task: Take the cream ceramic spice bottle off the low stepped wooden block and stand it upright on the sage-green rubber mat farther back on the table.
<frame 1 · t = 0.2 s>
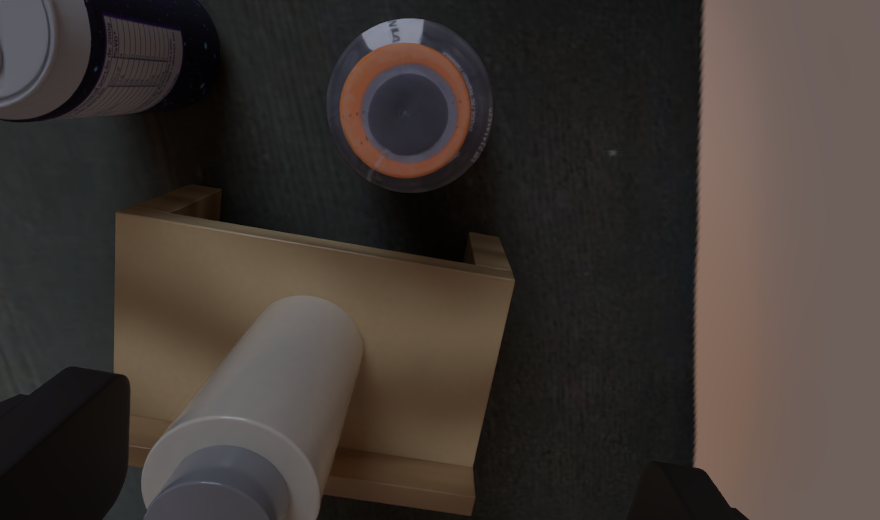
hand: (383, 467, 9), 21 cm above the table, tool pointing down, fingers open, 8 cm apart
stepped wooden block: (335, 299, 31), on the table
spice bottle: (306, 348, 24), point 7 cm above the table, touching stepped wooden block
beverage can: (169, 48, 27), on the table
pill bottle: (419, 102, 28), on the table
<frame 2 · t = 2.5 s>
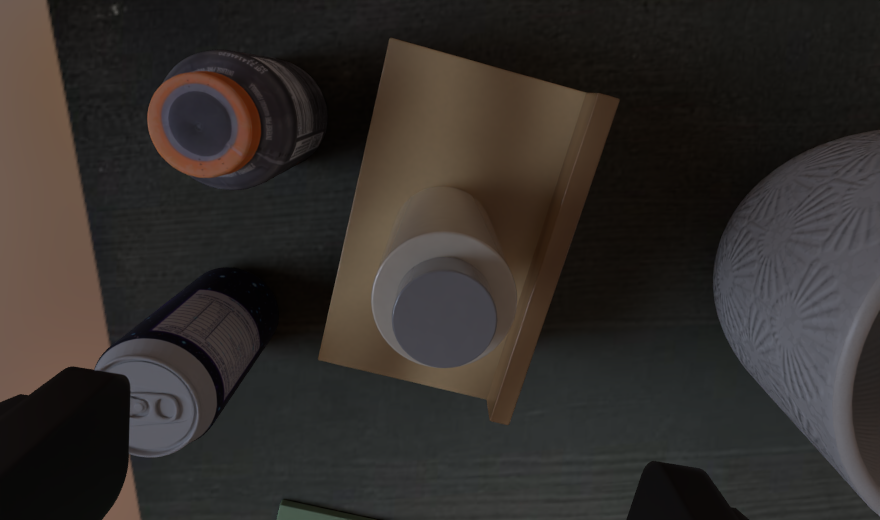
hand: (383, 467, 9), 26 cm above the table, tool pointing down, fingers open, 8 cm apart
stepped wooden block: (449, 209, 34), on the table
spice bottle: (442, 235, 27), point 7 cm above the table, touching stepped wooden block
beverage can: (238, 304, 36), on the table
pill bottle: (278, 114, 32), on the table
planter: (807, 251, 35), on the table
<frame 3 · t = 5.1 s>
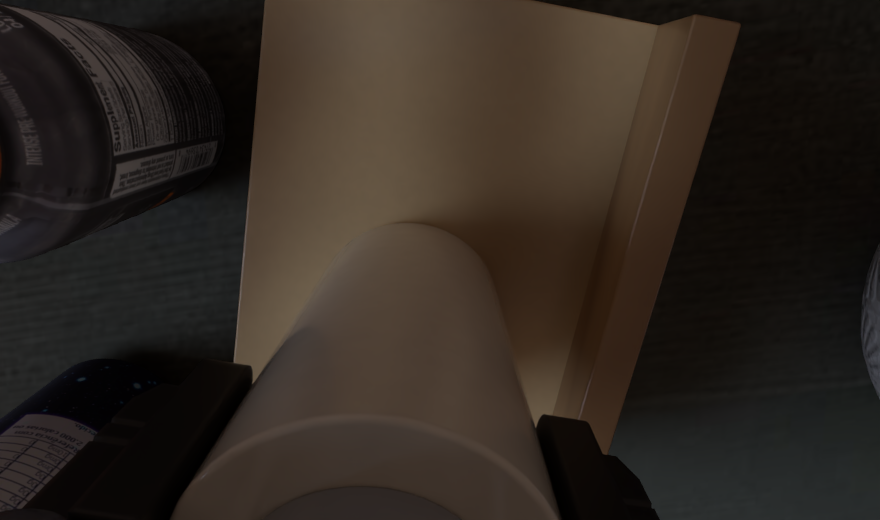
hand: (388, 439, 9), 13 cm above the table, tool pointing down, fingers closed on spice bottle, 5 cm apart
stepped wooden block: (431, 244, 22), on the table
spice bottle: (408, 309, 15), point 7 cm above the table, touching gripper, stepped wooden block
beverage can: (131, 407, 24), on the table
pill bottle: (150, 118, 21), on the table
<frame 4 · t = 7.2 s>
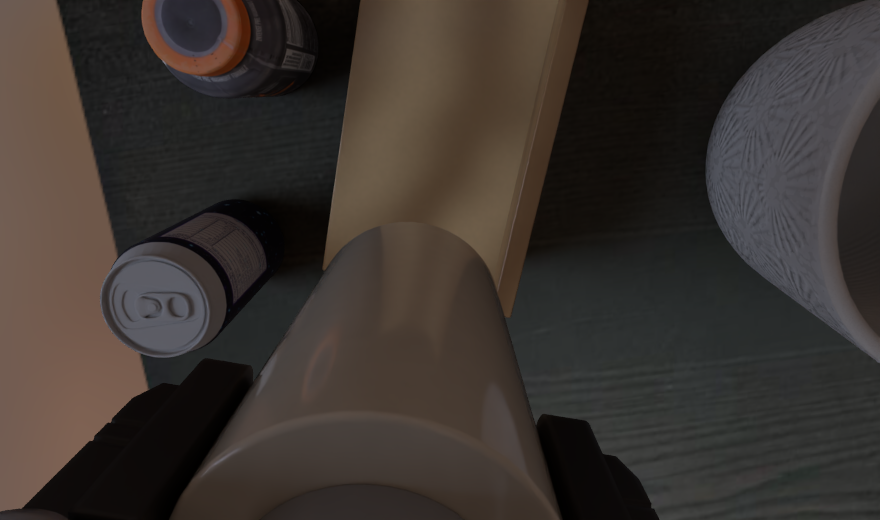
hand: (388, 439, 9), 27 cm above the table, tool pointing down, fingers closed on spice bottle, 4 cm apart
stepped wooden block: (443, 128, 35), on the table
spice bottle: (408, 308, 15), point 21 cm above the table, touching gripper
beverage can: (245, 239, 37), on the table
pill bottle: (271, 44, 33), on the table
planter: (799, 148, 35), on the table
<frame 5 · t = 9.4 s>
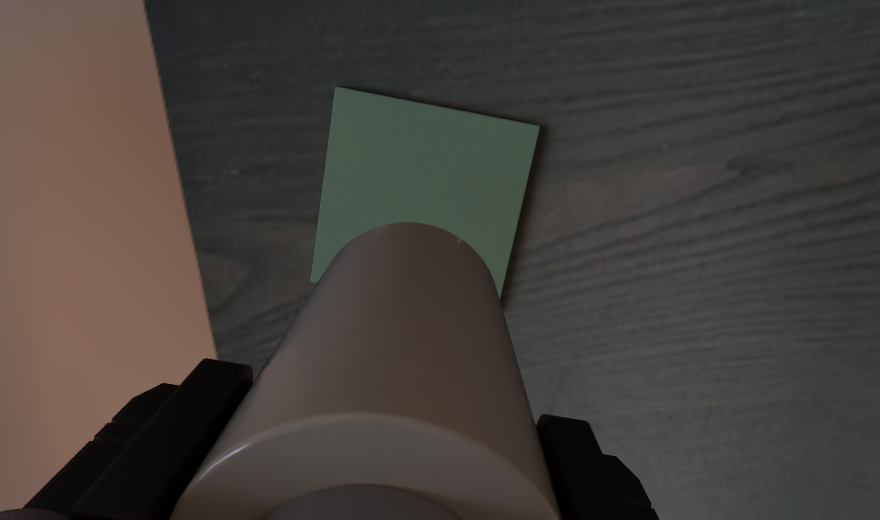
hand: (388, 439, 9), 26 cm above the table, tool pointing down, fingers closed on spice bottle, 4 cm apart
mat: (421, 205, 35), on the table
spice bottle: (408, 309, 15), point 20 cm above the table, touching gripper
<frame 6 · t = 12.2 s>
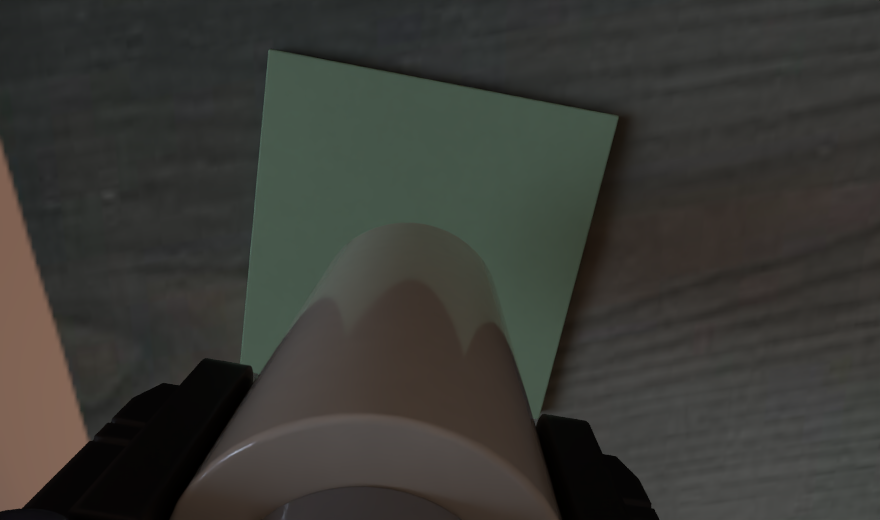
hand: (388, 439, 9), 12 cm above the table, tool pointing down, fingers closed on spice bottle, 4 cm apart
mat: (417, 247, 21), on the table
spice bottle: (408, 309, 15), point 6 cm above the table, touching gripper
when the fingers open (6 cm above the table, at t = 14.0 s): spice bottle stays where it is, resting on mat.
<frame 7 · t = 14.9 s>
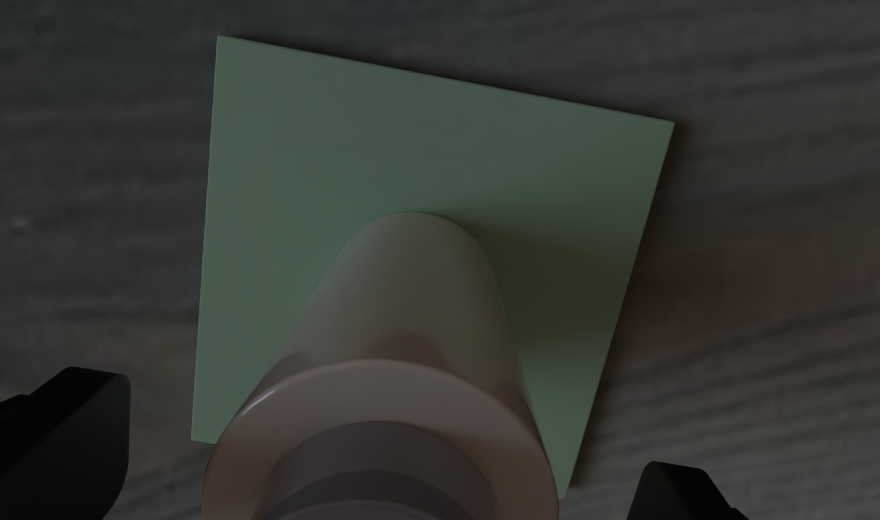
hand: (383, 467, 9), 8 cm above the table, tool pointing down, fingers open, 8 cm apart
mat: (413, 288, 17), on the table
spice bottle: (413, 293, 16), point 1 cm above the table, touching mat
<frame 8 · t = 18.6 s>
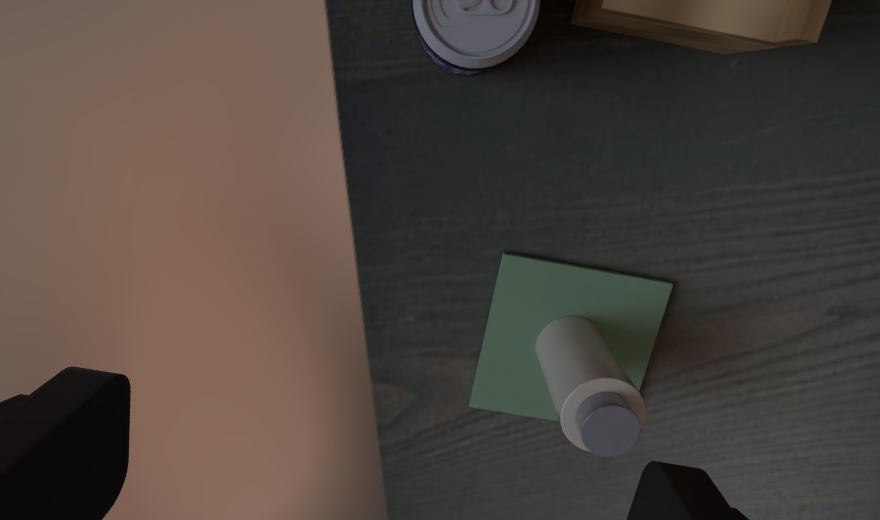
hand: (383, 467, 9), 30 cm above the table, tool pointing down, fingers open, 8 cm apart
mat: (566, 344, 41), on the table
spice bottle: (568, 347, 40), point 1 cm above the table, touching mat
beverage can: (465, 28, 35), on the table
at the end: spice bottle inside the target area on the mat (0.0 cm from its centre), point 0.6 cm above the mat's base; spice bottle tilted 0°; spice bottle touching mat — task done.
